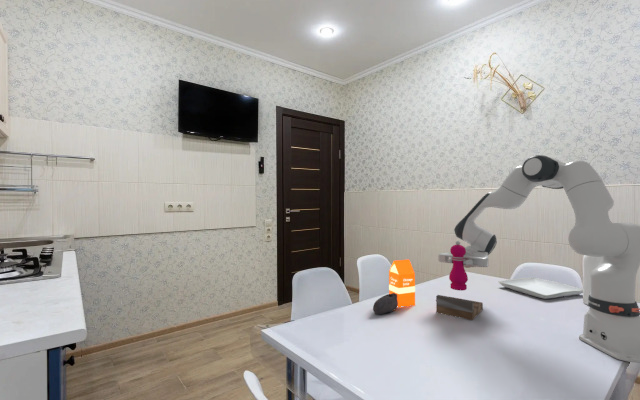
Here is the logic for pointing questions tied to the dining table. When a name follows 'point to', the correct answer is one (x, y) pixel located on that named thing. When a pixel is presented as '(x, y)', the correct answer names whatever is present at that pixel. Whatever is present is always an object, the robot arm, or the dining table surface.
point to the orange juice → (402, 282)
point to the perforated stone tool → (386, 304)
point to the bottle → (588, 274)
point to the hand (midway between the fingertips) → (457, 262)
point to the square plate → (541, 287)
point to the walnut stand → (458, 307)
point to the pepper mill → (458, 268)
